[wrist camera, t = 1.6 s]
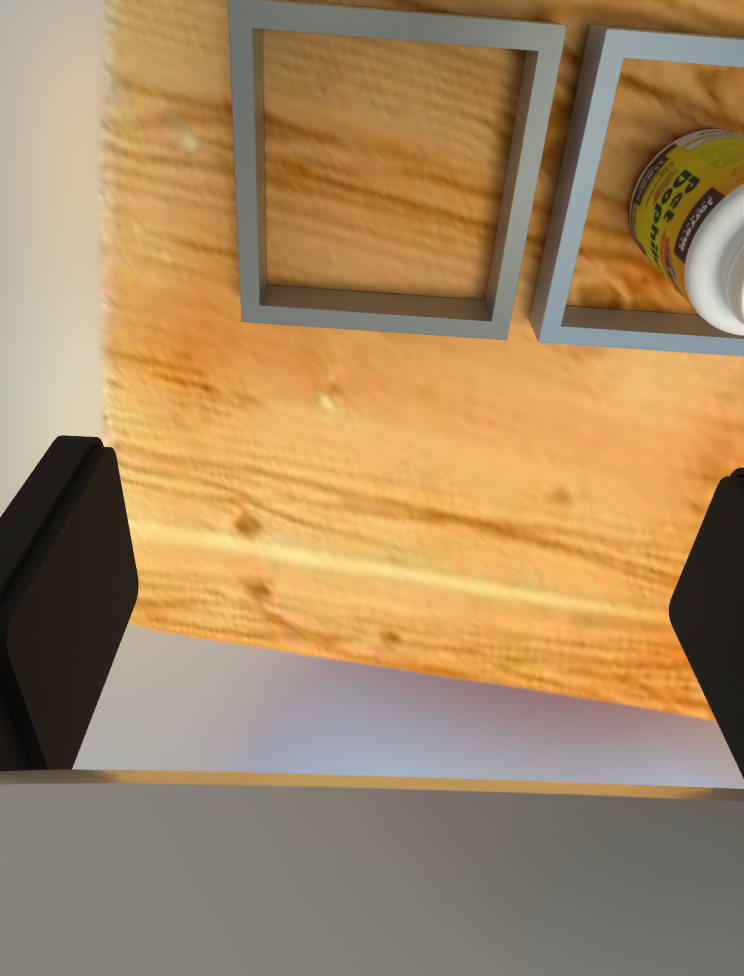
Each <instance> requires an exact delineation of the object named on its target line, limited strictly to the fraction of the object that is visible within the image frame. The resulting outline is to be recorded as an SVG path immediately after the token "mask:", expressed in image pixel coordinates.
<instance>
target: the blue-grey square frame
mask: <svg viewBox="0 0 744 976" xmlns="http://www.w3.org/2000/svg"><path fill="white" fill-rule="evenodd" d="M624 58H633V59H645V60H658V61H670V62H682V63H695V64H707V65H720V66H732V67H744V37H732V36H720V35H708V34H695V33H683V32H671V31H659V30H646V29H634V28H622V27H609V26H597V25H590V27H589V32H588V37H587V42H586V47H585V51H584V56H583V61H582V66H581V71H580V76H579V81H578V85H577V90H576V95H575V100H574V105H573V110H572V114H571V119H570V124H569V129H568V134H567V139H566V144H565V148H564V153H563V158H562V163H561V168H560V173H559V177H558V182H557V187H556V192H555V197H554V202H553V207H552V211H551V216H550V221H549V226H548V231H547V236H546V240H545V245H544V250H543V255H542V260H541V265H540V270H539V274H538V279H537V284H536V289H535V294H534V299H533V303H532V308H531V313H530V318H529V321H530V323H531V326H532V328H533V330H534V333H535V335H536V338H537V340H538V342H541V343H556V344H570V345H585V346H600V347H614V348H629V349H643V350H658V351H672V352H687V353H702V354H716V355H731V356H744V336H742V335H735V334H731V333H728V332H725V331H722V330H720V329H718V328H716V327H714V326H712V325H711V324H709V323H708V322H707V321H706V320H705V319H703V318H702V317H701V316H700V315H689V314H674V313H660V312H646V311H631V310H617V309H603V308H589V307H574V306H566V301H567V297H568V293H569V289H570V284H571V280H572V276H573V272H574V267H575V263H576V259H577V254H578V250H579V246H580V242H581V237H582V233H583V229H584V225H585V220H586V216H587V212H588V208H589V203H590V199H591V195H592V191H593V186H594V182H595V178H596V174H597V169H598V165H599V161H600V157H601V152H602V148H603V144H604V140H605V135H606V131H607V127H608V123H609V118H610V114H611V110H612V106H613V101H614V97H615V93H616V88H617V84H618V80H619V76H620V71H621V67H622V63H623V59H624Z"/></svg>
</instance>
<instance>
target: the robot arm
mask: <svg viewBox="0 0 744 976" xmlns="http://www.w3.org/2000/svg"><path fill="white" fill-rule="evenodd" d="M137 595H138V575H137V569H136V564H135V558H134V552H133V547H132V541H131V536H130V530H129V525H128V519H127V513H126V508H125V502H124V497H123V491H122V485H121V480H120V474H119V469H118V463H117V458H116V454H115V451H114V449H113V448H112V447H104V445H103V443H102V441H101V439H100V438H98V437H83V436H63V435H62V436H58V437H57V438H56V439H55V440H54V441H53V443H52V444H51V446H50V447H49V449H48V450H47V451H46V453H45V454H44V456H43V457H42V459H41V460H40V462H39V463H38V464H37V466H36V467H35V469H34V470H33V472H32V473H31V474H30V476H29V477H28V479H27V480H26V482H25V483H24V484H23V486H22V487H21V489H20V490H19V491H18V493H17V495H16V496H15V497H14V499H13V500H12V502H11V503H10V505H9V506H8V507H7V509H6V510H5V512H4V513H3V514H2V516H1V517H0V976H744V789H729V788H702V787H677V786H650V785H625V784H599V783H570V782H568V783H567V782H540V781H508V780H480V779H449V778H418V777H387V776H351V775H316V774H280V773H244V772H207V771H153V770H152V771H151V770H150V771H148V770H147V771H146V770H72V768H73V765H74V762H75V760H76V757H77V755H78V752H79V749H80V747H81V744H82V742H83V739H84V736H85V734H86V731H87V729H88V726H89V723H90V720H91V718H92V715H93V713H94V710H95V708H96V705H97V702H98V700H99V697H100V695H101V692H102V689H103V686H104V684H105V682H106V679H107V676H108V674H109V671H110V668H111V666H112V663H113V661H114V658H115V655H116V653H117V650H118V647H119V645H120V642H121V640H122V637H123V634H124V632H125V629H126V627H127V624H128V621H129V619H130V616H131V614H132V611H133V608H134V606H135V603H136V600H137ZM669 617H670V621H671V624H672V627H673V629H674V631H675V633H676V635H677V637H678V639H679V642H680V644H681V646H682V648H683V650H684V652H685V654H686V656H687V659H688V661H689V663H690V665H691V667H692V669H693V671H694V674H695V676H696V678H697V680H698V682H699V684H700V686H701V688H702V691H703V693H704V695H705V697H706V699H707V701H708V703H709V706H710V708H711V710H712V712H713V714H714V716H715V718H716V720H717V723H718V725H719V727H720V729H721V731H722V733H723V735H724V738H725V740H726V742H727V744H728V746H729V748H730V750H731V753H732V755H733V757H734V759H735V761H736V763H737V765H738V767H739V770H740V771H741V774H742V776H743V778H744V468H738V469H736V470H735V471H734V472H733V473H731V475H730V476H726V477H723V478H722V479H721V480H720V482H719V484H718V486H717V488H716V491H715V493H714V495H713V498H712V500H711V503H710V505H709V508H708V510H707V513H706V515H705V517H704V520H703V522H702V525H701V527H700V530H699V532H698V534H697V537H696V539H695V542H694V544H693V547H692V549H691V552H690V554H689V556H688V559H687V561H686V564H685V566H684V569H683V571H682V573H681V576H680V578H679V581H678V583H677V586H676V588H675V591H674V593H673V595H672V598H671V601H670V604H669Z"/></svg>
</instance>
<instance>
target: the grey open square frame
mask: <svg viewBox="0 0 744 976" xmlns="http://www.w3.org/2000/svg"><path fill="white" fill-rule="evenodd" d="M228 14H229V38H230V62H231V85H232V109H233V133H234V156H235V180H236V204H237V227H238V251H239V275H240V298H241V322H249V323H264V324H279V325H293V326H308V327H322V328H337V329H352V330H366V331H381V332H395V333H410V334H424V335H439V336H454V337H468V338H483V339H497V340H507V337H508V332H509V326H510V321H511V316H512V311H513V305H514V300H515V295H516V290H517V284H518V279H519V274H520V269H521V263H522V258H523V253H524V248H525V242H526V237H527V232H528V227H529V221H530V216H531V211H532V206H533V200H534V195H535V190H536V185H537V179H538V174H539V169H540V164H541V158H542V153H543V148H544V143H545V137H546V132H547V127H548V122H549V116H550V111H551V106H552V101H553V95H554V90H555V85H556V80H557V74H558V69H559V64H560V59H561V53H562V48H563V43H564V38H565V32H566V27H567V26H566V25H563V24H559V23H555V22H548V21H536V20H523V19H511V18H499V17H486V16H474V15H462V14H450V13H437V12H425V11H413V10H400V9H388V8H376V7H364V6H351V5H339V4H327V3H314V2H302V1H290V0H228ZM262 29H271V30H283V31H296V32H308V33H321V34H333V35H346V36H358V37H371V38H383V39H396V40H408V41H420V42H433V43H445V44H458V45H470V46H483V47H495V48H508V49H520V50H526V56H525V62H524V68H523V74H522V80H521V86H520V92H519V98H518V104H517V110H516V116H515V122H514V128H513V134H512V141H511V147H510V153H509V159H508V165H507V171H506V177H505V183H504V189H503V195H502V201H501V207H500V213H499V219H498V225H497V231H496V237H495V243H494V249H493V255H492V261H491V267H490V273H489V280H488V286H487V292H486V298H485V300H474V299H460V298H446V297H432V296H417V295H403V294H389V293H375V292H360V291H346V290H332V289H318V288H303V287H289V286H275V285H267V244H266V192H265V141H264V89H263V37H262Z"/></svg>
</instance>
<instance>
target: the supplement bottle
mask: <svg viewBox="0 0 744 976" xmlns="http://www.w3.org/2000/svg"><path fill="white" fill-rule="evenodd" d="M630 225H631V230H632V233H633V236H634V238H635V241H636V243H637V244H638V246H639V247H640V249H641V250H642V252H643V253H644V254H645V255H646V257H647V258H648V259H649V260H650V261H651V262H652V263H653V264H654V265H655V266H656V268H657V269H658V270H659V271H660V272H661V273H662V274H663V275H664V277H665V278H666V279H667V280H668V281H669V282H670V283H671V284H672V285H673V286H674V288H675V290H677V291H678V292H679V293H680V294H681V295H682V296H683V297H684V298H685V300H686V301H687V302H688V303H689V304H690V305H691V306H692V307H693V308H694V309H695V311H696V312H697V313H698V314H699V315H700V316H701V317H702V318H703V319H705V320H706V321H707V322H708V323H709V324H711V325H712V326H714V327H716V328H718V329H720V330H722V331H725V332H728V333H731V334H735V335H742V336H744V135H742V134H740V133H737V132H733V131H730V130H724V129H707V130H701V131H697V132H694V133H690V134H688V135H685V136H683V137H681V138H679V139H677V140H676V141H674V142H672V143H671V144H669V145H668V146H666V147H665V148H664V149H663V150H661V151H660V152H659V153H658V154H657V155H656V156H655V157H654V158H653V159H652V160H651V162H650V163H649V164H648V165H647V167H646V168H645V170H644V171H643V173H642V174H641V176H640V178H639V180H638V182H637V184H636V187H635V189H634V192H633V195H632V199H631V205H630Z"/></svg>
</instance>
